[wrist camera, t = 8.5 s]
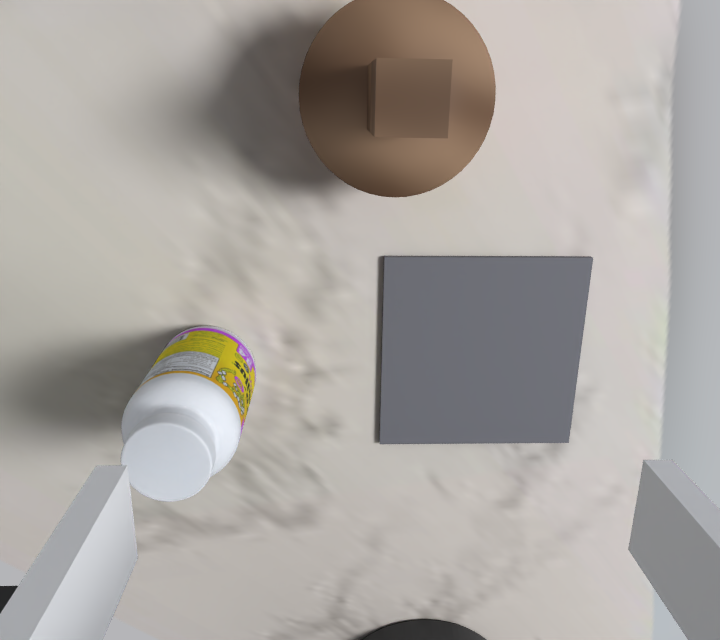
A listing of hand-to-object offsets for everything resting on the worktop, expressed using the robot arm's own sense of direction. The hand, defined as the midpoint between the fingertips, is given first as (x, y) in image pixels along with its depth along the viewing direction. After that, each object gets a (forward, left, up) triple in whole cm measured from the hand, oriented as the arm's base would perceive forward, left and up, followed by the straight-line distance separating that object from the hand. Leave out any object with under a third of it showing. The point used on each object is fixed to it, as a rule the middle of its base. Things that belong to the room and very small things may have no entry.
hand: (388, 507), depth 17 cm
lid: (+10, -2, -23) cm, 25 cm away
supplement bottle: (-8, +10, -29) cm, 31 cm away
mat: (-7, -9, -28) cm, 31 cm away
